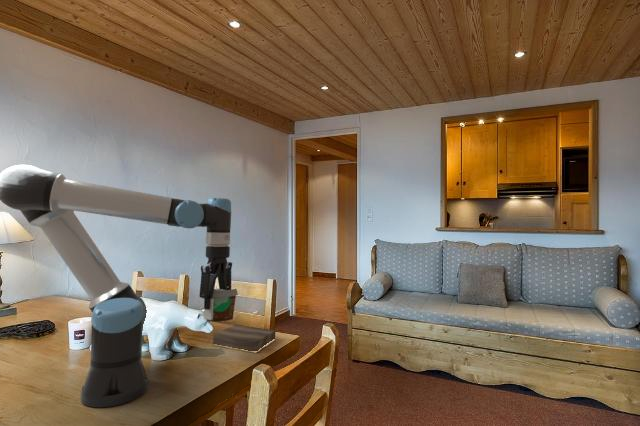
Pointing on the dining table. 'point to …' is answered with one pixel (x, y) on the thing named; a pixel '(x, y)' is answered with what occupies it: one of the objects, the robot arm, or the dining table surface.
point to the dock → (244, 337)
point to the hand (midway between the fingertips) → (215, 316)
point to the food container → (223, 304)
